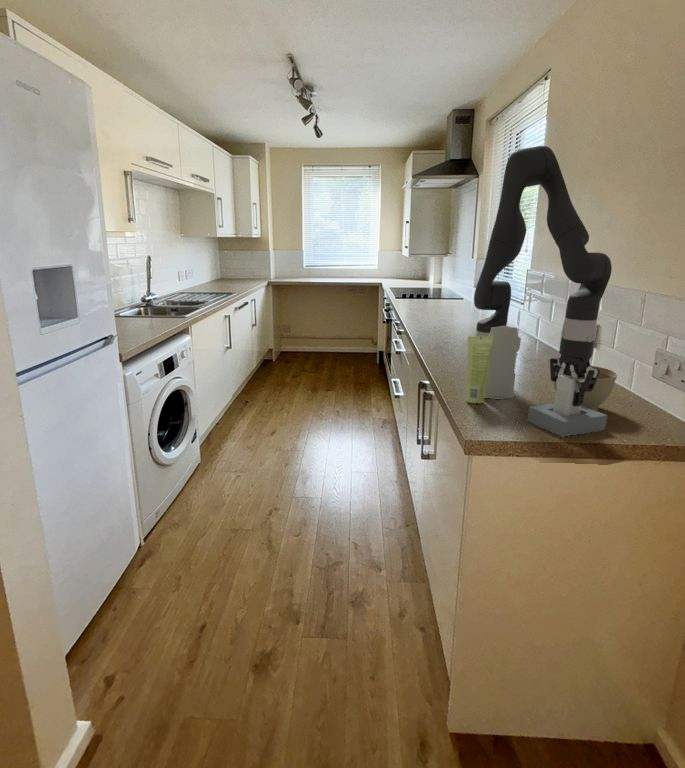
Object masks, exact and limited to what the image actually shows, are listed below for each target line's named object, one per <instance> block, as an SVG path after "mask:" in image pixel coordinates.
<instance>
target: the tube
mask: <svg viewBox="0 0 685 768" xmlns="http://www.w3.org/2000/svg"><path fill="white" fill-rule="evenodd" d="M492 342H493V337H476V335H475V336H474V335H473V336H469V335H467V377H466V393H465V394H466V395H465V401H466V402H467V403H470V404H476V403H478V404H482V403H483V402H484V399H483V397H484V390H485V382H486V375H487V369H488V363H489V357H490V352H491V347H492ZM476 405H477V404H476Z"/></svg>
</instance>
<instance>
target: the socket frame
mask: <svg viewBox="0 0 685 768" xmlns="http://www.w3.org/2000/svg"><path fill="white" fill-rule="evenodd" d="M553 408H554V402H553V403H552V402H551V403H546V404H541V405H540V404H538V405H531V406H528V412H527V413H528V414H527V422H528V421H529V422H528V423H530V422H531V423H530V424H532V423H533V424H532V425H535V426H536V427H538V428H541V429H543V430H545V429H546V431H547V430H548V431H547V432H549V431H550V433H551V432H552V433H551V434H553V433H555V434H554V435H556V434H557V435H556V436H558V435H559V436H558V437H560V436H561V437H560V438H566V437H565V436H568V437H571V436H570V435H574V436H578V435H577V434H580V435H585V433H586V434H591V432H592V433H597V432H603V431H606V427H607V426H606V425H607V421H608V420H607V419H608V414H605V413H603V412H600V411H598V410H597V411H595V410H592V409H590V408H587V407H584V406H582V405H581V410H580V414H578V415H571V416H565V417H564V416H562V415H559V414H557V413H555V412H553ZM602 430H603V431H602Z"/></svg>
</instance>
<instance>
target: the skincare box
mask: <svg viewBox="0 0 685 768" xmlns="http://www.w3.org/2000/svg"><path fill="white" fill-rule="evenodd" d="M581 378H582V377H580V378H578V379H579V380H580V379H581ZM575 385H576V383H575V379H574V378H572V376H569V375H561V376H558V382H557V388H556V390H555V394H556V395H555V396H554V402H553V403H554V408H553V412H555V413H557V414H559V415H562V416H564V417H565V416H571V415H578V414H580V410H581V406H578V407H575V406H573V398H574V393H575V392H576V391H575ZM580 387H581V384H580Z"/></svg>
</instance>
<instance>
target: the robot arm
mask: <svg viewBox="0 0 685 768" xmlns="http://www.w3.org/2000/svg"><path fill="white" fill-rule="evenodd" d="M507 159H508V160H507V162H506V164H505V169H504V173H503V174H504V176H503V179H502V188H501V193H500V200H499V204H498V207H497V208H498V210H497V212H496V216H495V221H494V224H493V228H492V231H491V235H490V239H489V243H488V247H487V252H486V255H485V260H484V264H483V266H482V270H481V273H480V276H479V277H478V280H477V284H476V287H475V290H474V296H473V304H474V306H475V308H476V309H477V310H481V311H494V313H493V314H492V315H490V316H488V317H486V318H484V319H481V320H479V321H477V324H476V330H475V337H488V336H489V334H490V331H491V328H492V327H499V326H508V325H507V324H508V317H509V310H510V305H511V299H512V288H511V287H512V285H511V284H510V282H508V281H504V280H502V281H501V280H500V281H499V280H495V278H496V277H497V276H498V275H499V274H500V273H501V272H502V271H503V270H505V268H506V267H508V266H509V265H510V264H511V263H512V262H513V261H514V260H516V258H518V255H520V252H521V250H522V247H523V244H524V242H525V237H526V235H527V226H526V225H527V224H526V222H525V219H524V217H523V216H524V215H523V213H522V210H521V207H520V205H521V199H522V195H523V193H524V191H525V189H526V188H529V187H533V186H534V187H535V186H541V187H542V188H543V189H544V191H545V193H546V195H547V199H548V201H547V210H546V212H547V213H546V225H547V228H548V231H549V233H550V235H551V236H552V239H553V240H554V242H555V244H556V246H557V247H558V250H559V256H560V257H559V258H560V260H561V266H562V269H563V273H564V274H565V276H566V278H568V279H569V280H570V281H571V282H573V283H574V284H579V287H578V289H577V291H576V292H575V293H573V294H570V295H569V296H568V298H567V303H566V308H565V317H564V321H563V324H562V329H561V337H560V342H559V343H560V344H559V351H558V353H559V355H560V356H559V357H553V358H549V371H550V373H549V374H550V381H551V382H553V381H554V382H555V383H556V385H557V382H558V376H561V375H569V376H572V378H574V379H575V383H576V385H575V391H576V392H575V393H574V398H573V406H575V407H578V406H581V405H582V403H583V399H584V393H585V392H589V391H593V388H594V386H595V383H596V381H597V378H598V376H599V373H600V370H599V369H593V368H592V367H590V365H591V363H590V360H591V358H592V357H593V354H594V349H595V348H594V347H595V344H596V343H595V342H596V335H597V328H598V325H597V323H598V314H599V309H600V303H601V300H602V298H603V296H604V294H605V291H606V290H607V286H608V284H609V282H610V278H611V276H612V269H613V268H612V261H611V259H610V257H609V256H608V254H605V253H603V252H589V251H588V250H587V249H586V246H587V244H588V243H589V241H590V240H589V239H590V234H589V232H588V230H587V228H586V227H585V225H584V223H583V221H582V220H581V218H580V216H579V214H578V213H577V211H576V209H575V207H574V204H573V203H572V202H573V201H572V200H571V197H570V194H569V191H568V188H567V185H566V182H565V179H564V176H563V174H562V173H563V172H562V170H561V168H560V164H559V162H558V159H557V157H556V154H555V153H554V152H553V150H552V148H551V147H549V146H547V145H538V146H531V147H530V146H529V147H526V148H520V149H517V150H514V151H513V152H512V153H511V154H510V155H509V157H508V158H507ZM555 372H556V376H555ZM586 372H587V373H586ZM580 377H582V378H581V379H580V380H579V379H578V378H580ZM554 382H553V383H554ZM580 384H581V387H580ZM556 388H557V387H556ZM555 395H556V393H555Z"/></svg>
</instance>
